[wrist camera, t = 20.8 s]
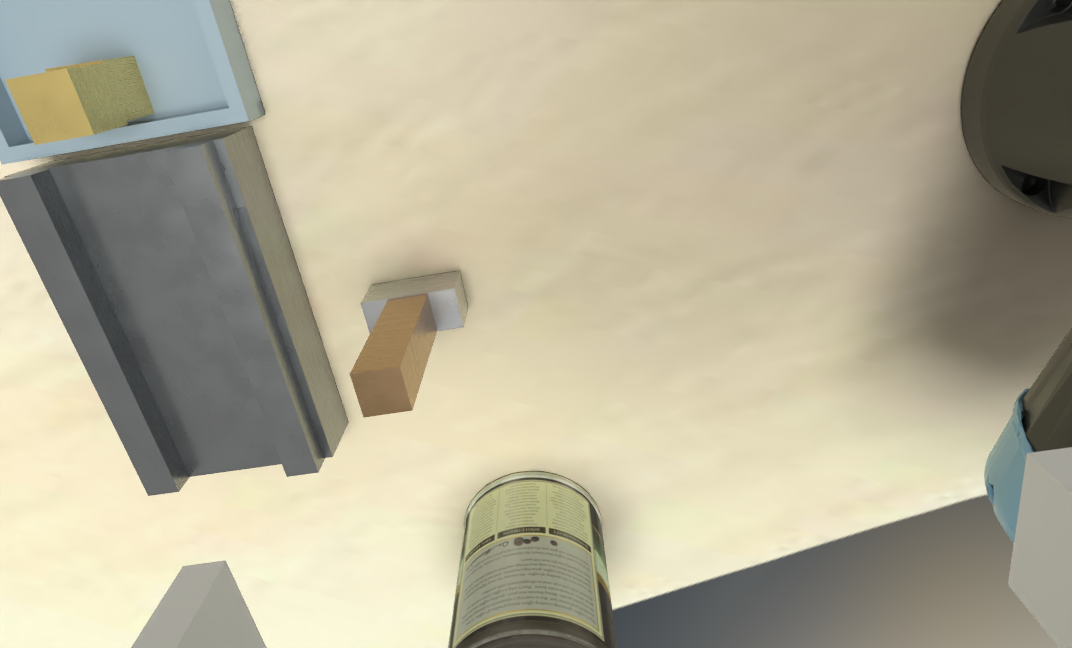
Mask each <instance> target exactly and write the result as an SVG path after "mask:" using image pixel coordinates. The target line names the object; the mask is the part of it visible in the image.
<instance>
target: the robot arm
mask: <svg viewBox="0 0 1072 648" xmlns="http://www.w3.org/2000/svg"><path fill="white" fill-rule="evenodd" d="M962 125H963V132H964V137H965V141H966V144H967V148H968V150H969V153H970V155H971V157H972V160H973V162H974V164H975V165H976V167H977V168H978V170H979V171H980V173H981V174H982V175H983V177H984V178H985V179H986V180H987V181H988V182H989V183H990V184H991V185H992V186H993V187H994V188H995V189H997V190H998V191H999V192H1001V193H1002V194H1003V195H1005V196H1007V197H1009V198H1010V199H1012V200H1015V201H1017V202H1019V203H1021V204H1024V205H1026V206H1029V207H1031V208H1034V209H1036V210H1039V211H1041V212H1044V213H1047V214H1051V215H1054V216H1059V217H1065V218H1071V219H1072V0H1003V1H1002V2H1001V4H1000V5H999V7H998V8H997V9H996V11H995V12H994V14H993V15H992V17H991V19H990V20H989V22H988V23H987V25H986V27H985V29H984V31H983V32H982V34H981V36H980V39H979V41H978V43H977V45H976V47H975V50H974V52H973V55H972V57H971V60H970V63H969V66H968V70H967V74H966V78H965V83H964V88H963V96H962ZM985 486H986V489H987V493H988V497H989V499H990V501H991V503H992V504H993V508H994V512H995V515H996V516H997V518H998V520H999V522H1000V524H1001V526H1002V527H1003V529H1004V530H1005V532H1006V533H1007V535H1008V536H1009V537H1010V539H1011V540H1012V541H1013V543H1014V547H1013V554H1012V561H1011V568H1010V575H1009V582H1008V585H1009V586H1010V588H1011V589H1012V590H1013V591H1014V593H1015V594H1016V595H1017V596H1018V598H1019V599H1020V600H1021V601H1022V603H1023V604H1024V605H1025V606H1026V607H1027V609H1028V610H1029V611H1030V612H1031V614H1032V615H1033V616H1034V617H1035V618H1036V620H1037V621H1038V622H1039V624H1040V625H1041V626H1042V627H1043V629H1044V630H1045V631H1046V632H1047V633H1048V635H1049V636H1050V637H1051V638H1052V639H1053V641H1054V642H1055V643H1056V645H1057V646H1058V647H1059V648H1072V328H1071V330H1070V331H1069V333H1068V334H1067V336H1066V337H1065V338H1064V340H1063V341H1062V343H1061V344H1060V346H1059V347H1058V349H1057V350H1056V352H1055V353H1054V355H1053V356H1052V357H1051V359H1050V360H1049V362H1048V363H1047V365H1046V366H1045V368H1044V369H1043V371H1042V372H1041V374H1040V375H1039V377H1038V378H1037V379H1036V381H1035V382H1034V384H1033V385H1032V387H1031V388H1030V389H1025V390H1024V391H1023V392H1022V393H1021V394H1020V395H1019V397H1018V399H1017V400H1016V402H1015V404H1014V409H1013V415H1012V417H1011V419H1010V420H1009V422H1008V424H1007V425H1006V427H1005V429H1004V431H1003V432H1002V434H1001V436H1000V437H999V439H998V441H997V442H996V444H995V446H994V448H993V449H992V451H991V453H990V454H989V457H988V459H987V462H986V466H985ZM131 648H266V646H265V644H264V642H263V639H262V637H261V635H260V633H259V631H258V629H257V627H256V624H255V622H254V620H253V618H252V616H251V614H250V612H249V610H248V607H247V605H246V603H245V601H244V599H243V597H242V595H241V592H240V590H239V588H238V586H237V584H236V582H235V580H234V577H233V575H232V573H231V571H230V569H229V567H228V565H227V562H226V561H219V562H211V563H204V564H197V565H189V566H183V567H182V569H181V570H180V572H179V573H178V575H177V577H176V578H175V580H174V581H173V583H172V584H171V586H170V588H169V589H168V591H167V592H166V594H165V595H164V597H163V599H162V600H161V602H160V603H159V605H158V606H157V608H156V610H155V611H154V613H153V614H152V616H151V617H150V619H149V621H148V622H147V624H146V625H145V627H144V628H143V630H142V632H141V633H140V635H139V636H138V638H137V639H136V641H135V643H134V644H133V646H132V647H131Z"/></svg>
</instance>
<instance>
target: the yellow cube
mask: <svg viewBox="0 0 1072 648" xmlns="http://www.w3.org/2000/svg"><path fill="white" fill-rule="evenodd" d="M5 81H6V83H7V85H8V87H9V90H10V92H11V94H12V96H13V98H14V101H15V103H16V105H17V107H18V109H19V111H20V114H21V116H22V118H23V120H24V122H25V125H26V127H27V129H28V131H29V133H30V135H31V138H32V140H33V142H34V144H35V145H39V144H45V143H50V142H56V141H62V140H67V139H73V138H79V137H84V136H90V135H95V134H99V133H102V132H105V131H109V130H112V129H115V128H119V127H122V126H126V125H128V123H127V121H126V118H125V116H124V113H123V111H122V108H121V106H120V103H119V101H118V98H117V96H116V93H115V91H114V88H113V86H112V83H111V81H110V78H109V76H108V73H107V71H106V68H105V66H104V63H102V64H95V65H88V66H80V67H73V68H66V69H60V70H55V71H50V72H44V73H39V74H33V75H28V76H22V77H17V78H11V79H6V80H5Z"/></svg>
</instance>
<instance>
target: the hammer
mask: <svg viewBox="0 0 1072 648" xmlns="http://www.w3.org/2000/svg"><path fill="white" fill-rule="evenodd" d="M361 305H362V309H363V312H364V315H365V319H366V322H367V325H368V329H369V332H370V336H369V338H368V340H367V341H366V343H365V345H364V347H363V349H362V351H361V353H360V355H359V357H358V359H357V361H356V363H355V365H354V367H353V369H352V371H351V373H350V376H351V379H352V382H353V385H354V388H355V392H356V395H357V398H358V401H359V404H360V407H361V410H362V414H363V417H370V416H377V415H383V414H390V413H397V412H404V411H411V410H413V406H414V403H415V400H416V397H417V394H418V390H419V387H420V384H421V381H422V377H423V374H424V371H425V368H426V364H427V361H428V358H429V355H430V351H431V348H432V345H433V342H434V338H435V335H436V332H437V331H441V330H447V329H454V328H460V327H464V323H465V318H466V314H467V309H468V305H467V300H466V296H465V292H464V287H463V283H462V278H461V274H460V271H453V272H447V273H441V274H435V275H428V276H422V277H416V278H410V279H403V280H397V281H391V282H384V283H378V284H372V285H371V287H370V289H369V290H368V292H367V294H366V295H365V297H364V299H363V301H362V302H361Z"/></svg>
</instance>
